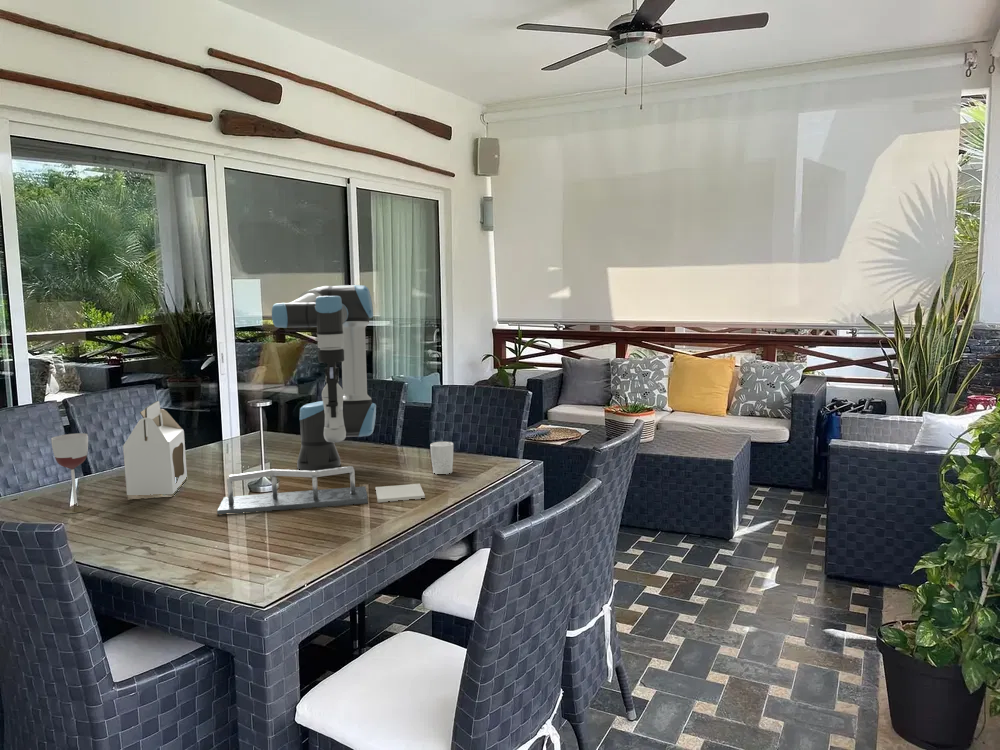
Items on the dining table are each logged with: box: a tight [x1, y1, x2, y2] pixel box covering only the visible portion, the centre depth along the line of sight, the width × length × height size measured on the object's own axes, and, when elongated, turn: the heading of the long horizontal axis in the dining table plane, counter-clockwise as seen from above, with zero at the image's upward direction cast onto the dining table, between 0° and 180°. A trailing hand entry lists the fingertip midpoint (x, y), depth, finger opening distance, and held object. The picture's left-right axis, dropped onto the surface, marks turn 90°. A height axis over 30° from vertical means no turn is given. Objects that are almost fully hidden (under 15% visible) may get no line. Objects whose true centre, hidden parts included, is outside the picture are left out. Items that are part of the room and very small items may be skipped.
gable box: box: [122, 400, 188, 496], centre depth 236 cm, size 22×13×28 cm, turn 12°
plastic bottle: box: [321, 379, 347, 444], centre depth 218 cm, size 6×7×20 cm
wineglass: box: [51, 432, 89, 505], centre depth 216 cm, size 9×10×22 cm
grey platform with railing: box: [216, 465, 369, 514], centre depth 219 cm, size 14×42×10 cm, turn 103°
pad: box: [375, 483, 426, 503], centre depth 226 cm, size 14×14×1 cm
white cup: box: [429, 441, 454, 475], centre depth 252 cm, size 8×8×10 cm
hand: (334, 425), depth 219 cm, fingers closed on plastic bottle, 6 cm apart
